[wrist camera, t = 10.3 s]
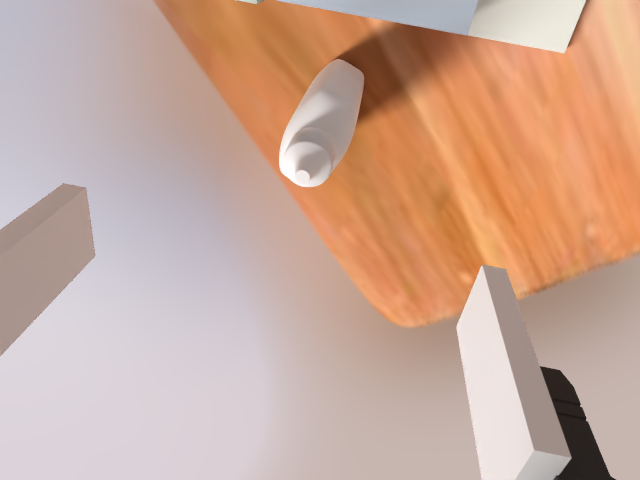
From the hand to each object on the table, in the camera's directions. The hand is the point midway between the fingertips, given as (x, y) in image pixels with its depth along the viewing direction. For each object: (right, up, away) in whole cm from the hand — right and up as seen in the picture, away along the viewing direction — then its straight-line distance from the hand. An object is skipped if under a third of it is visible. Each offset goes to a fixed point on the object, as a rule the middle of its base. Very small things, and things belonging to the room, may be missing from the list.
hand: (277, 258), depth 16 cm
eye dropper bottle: (+2, +10, +16) cm, 19 cm away
